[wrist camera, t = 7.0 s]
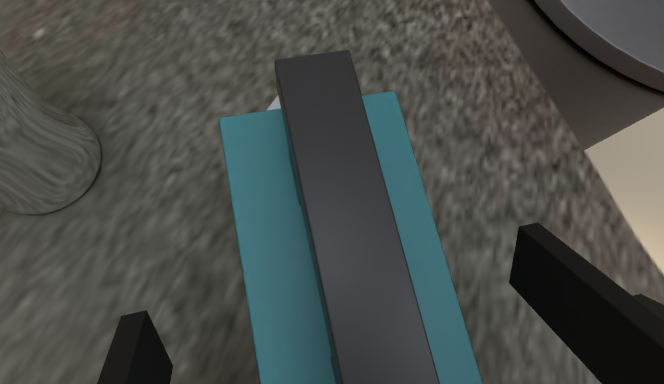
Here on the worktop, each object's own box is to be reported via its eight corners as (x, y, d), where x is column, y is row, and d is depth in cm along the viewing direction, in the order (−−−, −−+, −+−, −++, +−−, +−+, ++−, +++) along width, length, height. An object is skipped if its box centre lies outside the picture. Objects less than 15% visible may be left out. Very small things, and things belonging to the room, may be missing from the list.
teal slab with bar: (433, 391, 19) (590, 496, 9) (278, 434, 18) (250, 611, 8) (352, 88, 24) (393, -78, 14) (225, 108, 23) (163, -57, 12)
